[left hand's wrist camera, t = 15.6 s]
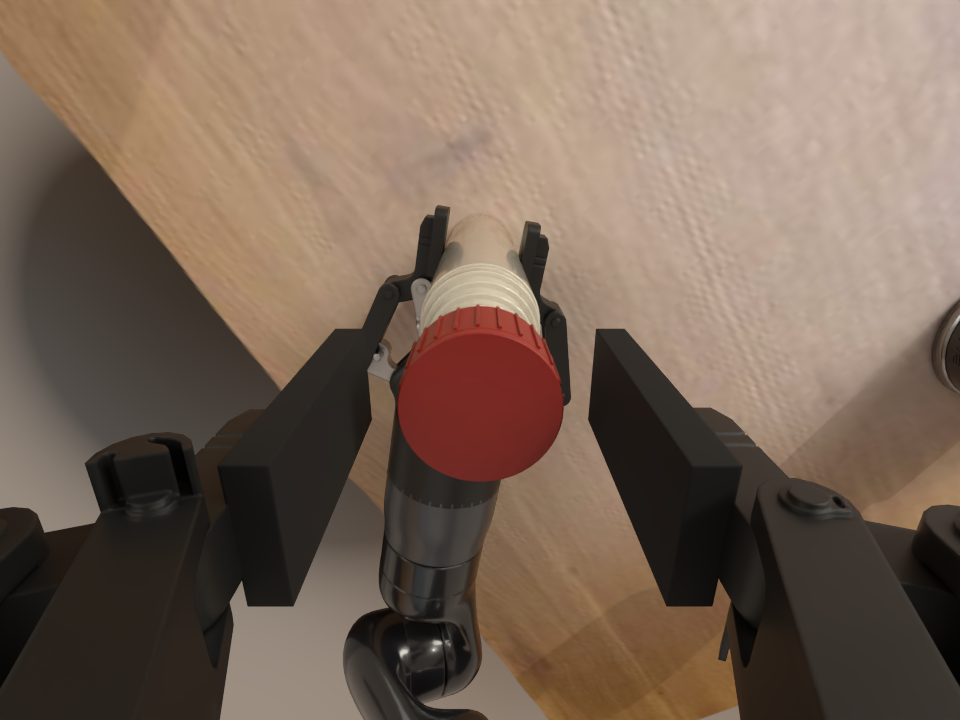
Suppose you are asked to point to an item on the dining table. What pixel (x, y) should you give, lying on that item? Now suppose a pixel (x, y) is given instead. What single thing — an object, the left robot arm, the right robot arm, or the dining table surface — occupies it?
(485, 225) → the bottle
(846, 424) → the dining table surface
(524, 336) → the cap
